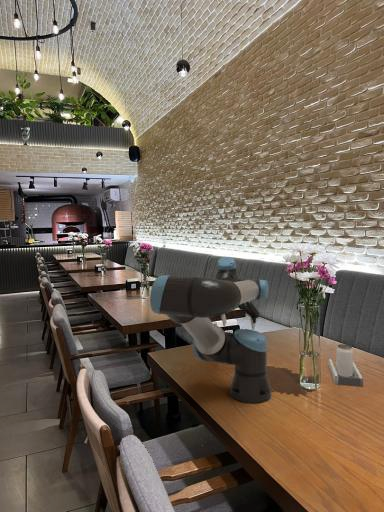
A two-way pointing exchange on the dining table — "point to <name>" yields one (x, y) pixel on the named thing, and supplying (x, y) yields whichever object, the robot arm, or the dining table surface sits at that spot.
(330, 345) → the dining table surface
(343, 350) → the can
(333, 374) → the grey flat u-shaped frame
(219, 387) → the dining table surface
